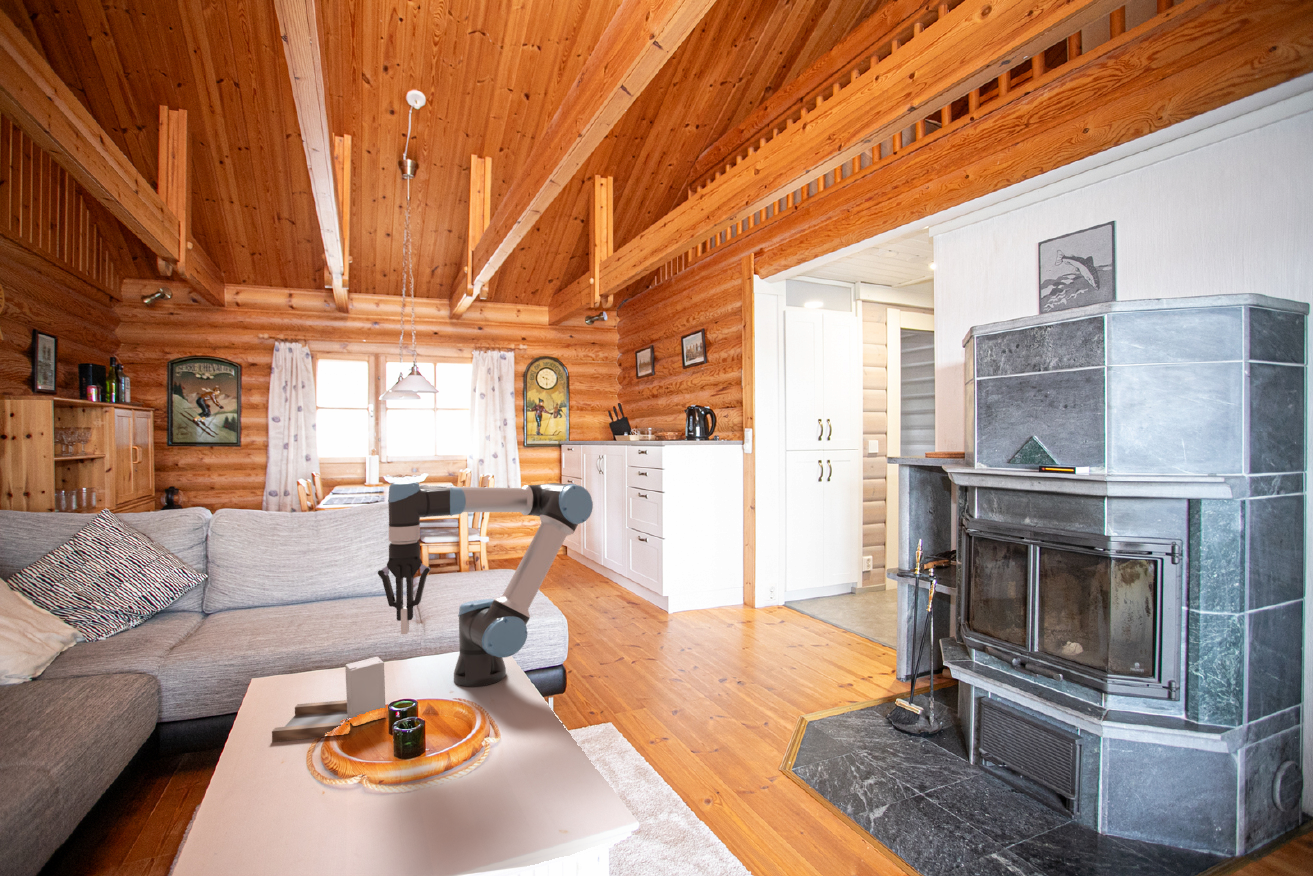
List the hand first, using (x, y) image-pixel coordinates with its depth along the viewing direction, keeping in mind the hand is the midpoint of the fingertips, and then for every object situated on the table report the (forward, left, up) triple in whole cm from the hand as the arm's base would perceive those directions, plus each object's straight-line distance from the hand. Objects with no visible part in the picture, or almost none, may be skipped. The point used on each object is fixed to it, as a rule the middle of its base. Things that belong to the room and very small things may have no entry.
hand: (405, 632), depth 163 cm
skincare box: (+10, 0, -22) cm, 24 cm away
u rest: (+20, 0, -22) cm, 30 cm away
